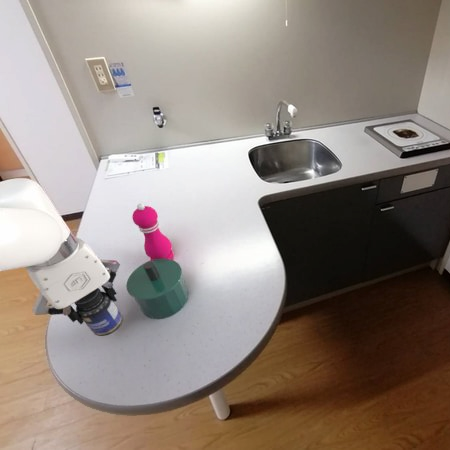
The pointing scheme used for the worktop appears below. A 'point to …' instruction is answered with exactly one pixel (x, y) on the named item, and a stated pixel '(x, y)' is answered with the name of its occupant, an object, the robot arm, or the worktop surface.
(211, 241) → the worktop surface
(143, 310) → the pot
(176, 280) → the pot lid
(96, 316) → the pill bottle
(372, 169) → the worktop surface
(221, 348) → the worktop surface
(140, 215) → the pepper mill
